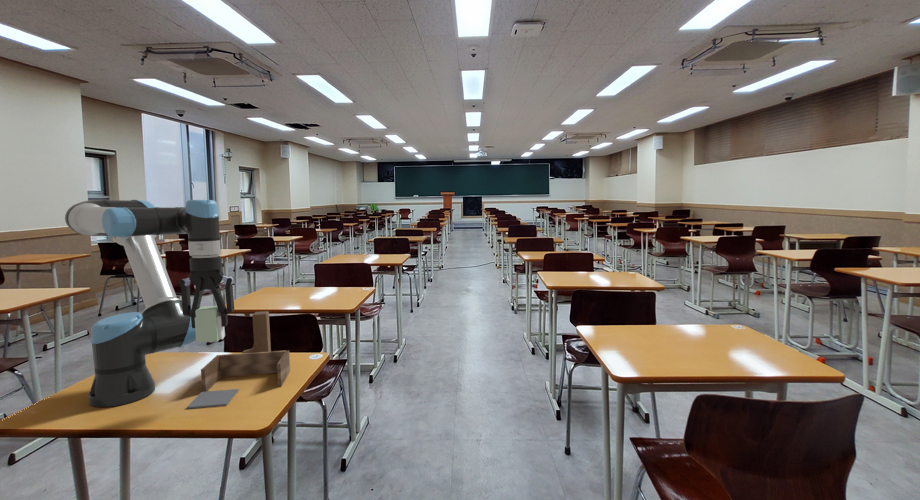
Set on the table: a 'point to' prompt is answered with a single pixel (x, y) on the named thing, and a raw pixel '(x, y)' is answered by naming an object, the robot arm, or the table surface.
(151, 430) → the table surface
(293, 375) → the table surface
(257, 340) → the wooden block
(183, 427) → the table surface
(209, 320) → the block
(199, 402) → the mat
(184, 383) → the table surface
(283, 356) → the cubby
